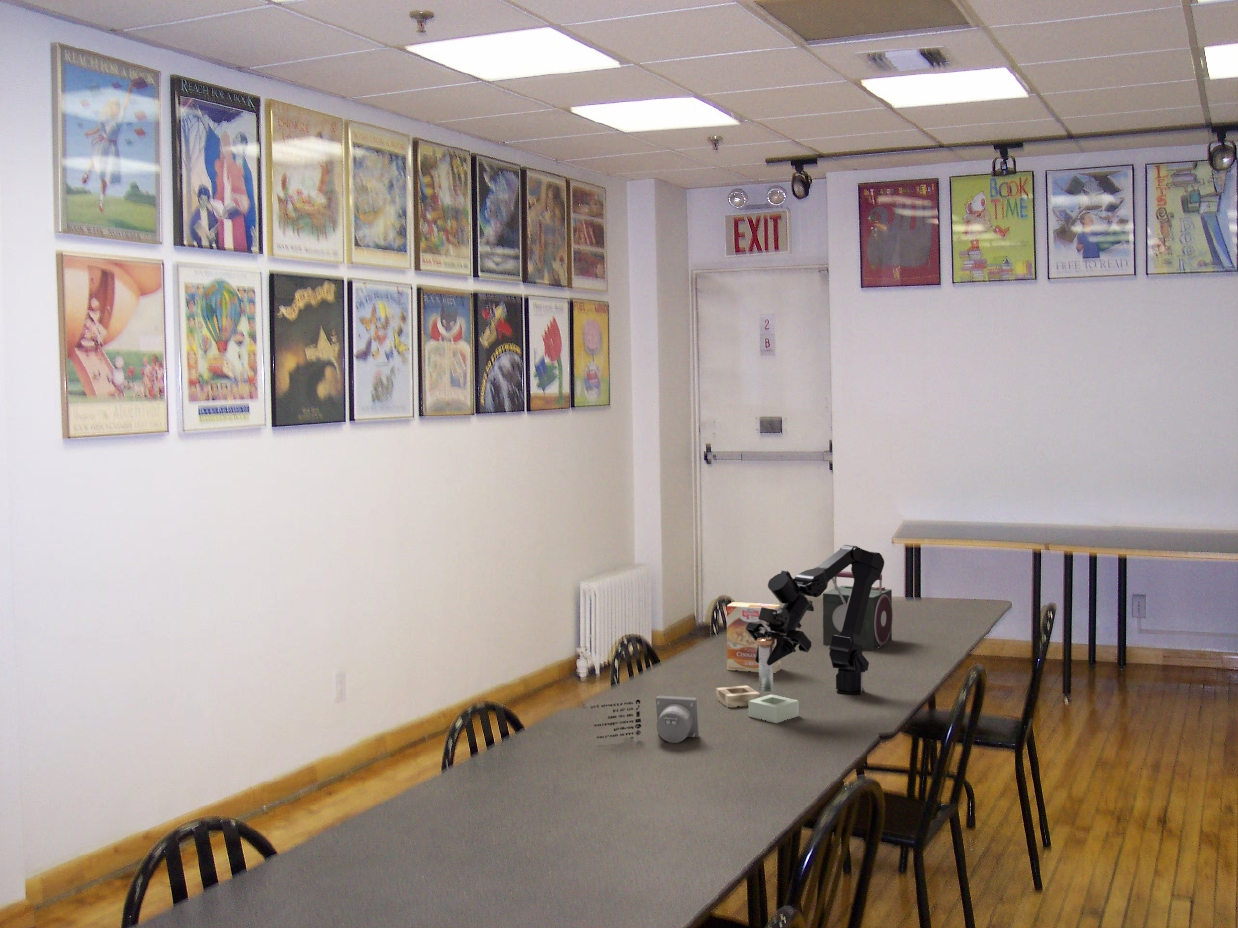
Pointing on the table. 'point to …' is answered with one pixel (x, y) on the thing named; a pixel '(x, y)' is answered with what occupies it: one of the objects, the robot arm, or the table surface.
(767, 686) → the lock pin
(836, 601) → the boombox
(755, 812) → the table surface
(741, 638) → the coffeecake box
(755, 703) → the dock socket
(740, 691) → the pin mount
